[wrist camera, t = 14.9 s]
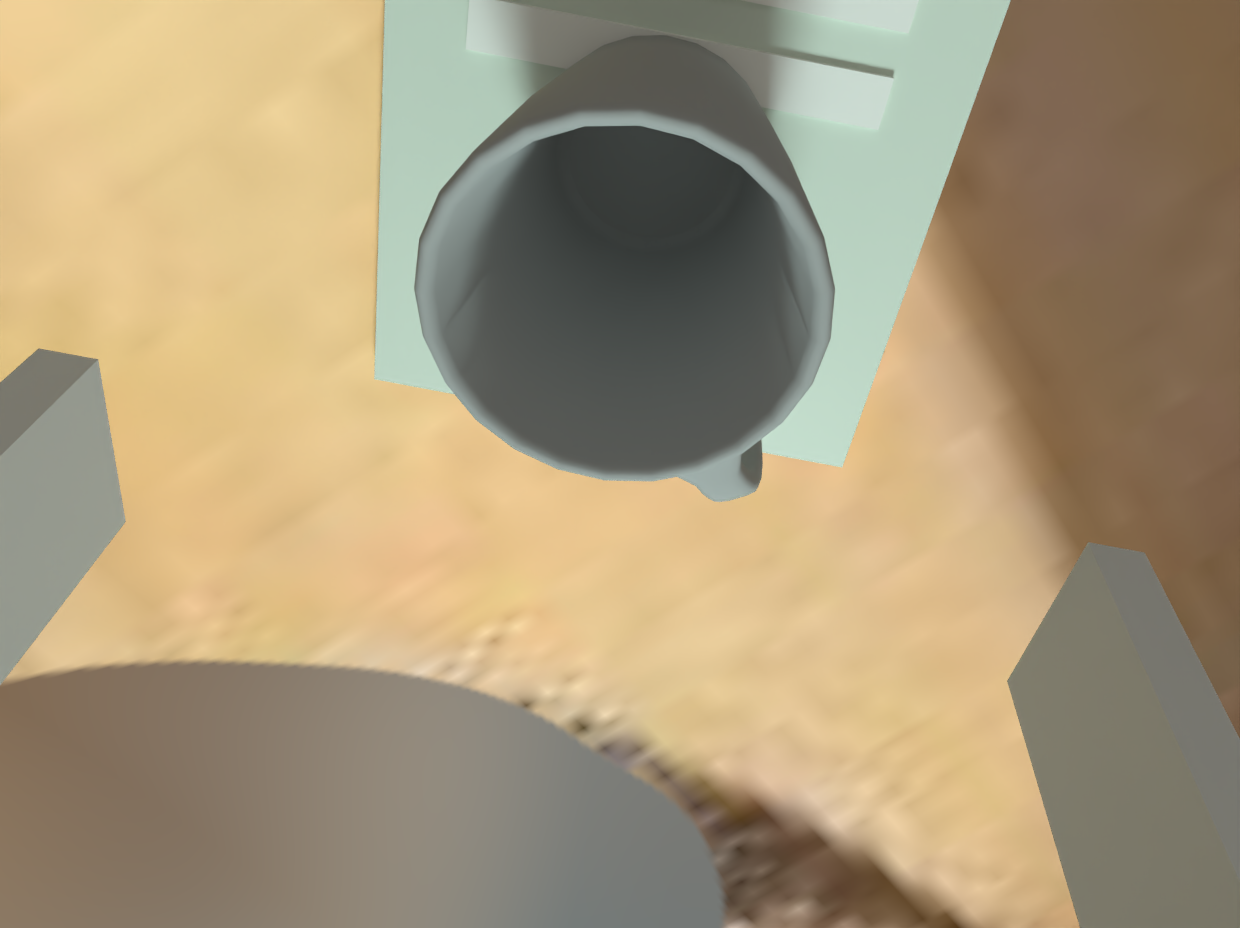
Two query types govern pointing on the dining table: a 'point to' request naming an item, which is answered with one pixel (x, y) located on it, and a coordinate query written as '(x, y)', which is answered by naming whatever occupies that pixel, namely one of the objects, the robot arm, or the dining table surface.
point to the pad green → (788, 94)
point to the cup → (630, 273)
